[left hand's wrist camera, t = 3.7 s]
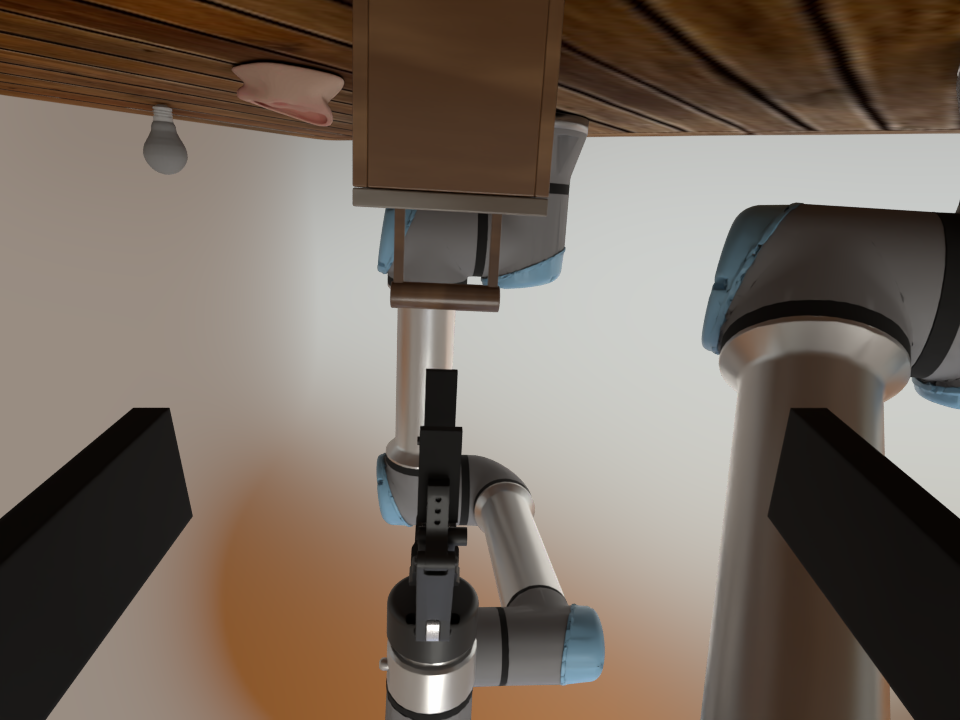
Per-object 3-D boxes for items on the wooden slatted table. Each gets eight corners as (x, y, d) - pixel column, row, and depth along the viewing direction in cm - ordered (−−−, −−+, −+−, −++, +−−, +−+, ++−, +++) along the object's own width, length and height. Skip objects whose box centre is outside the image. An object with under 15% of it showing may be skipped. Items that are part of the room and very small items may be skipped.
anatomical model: (237, 103, 55) (361, 117, 60) (235, 56, 54) (361, 74, 59) (229, 117, 67) (333, 128, 71) (227, 78, 66) (333, 92, 70)
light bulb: (176, 103, 88) (181, 174, 90) (189, 109, 93) (193, 176, 96) (132, 99, 87) (138, 172, 89) (148, 105, 92) (153, 173, 95)
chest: (529, 24, 40) (517, 197, 43) (381, 12, 39) (380, 189, 42) (569, -59, 27) (549, 197, 30) (352, -78, 27) (352, 186, 29)
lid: (516, 198, 44) (508, 307, 46) (381, 190, 43) (379, 301, 45) (548, 198, 30) (536, 353, 32) (352, 187, 29) (352, 346, 32)
